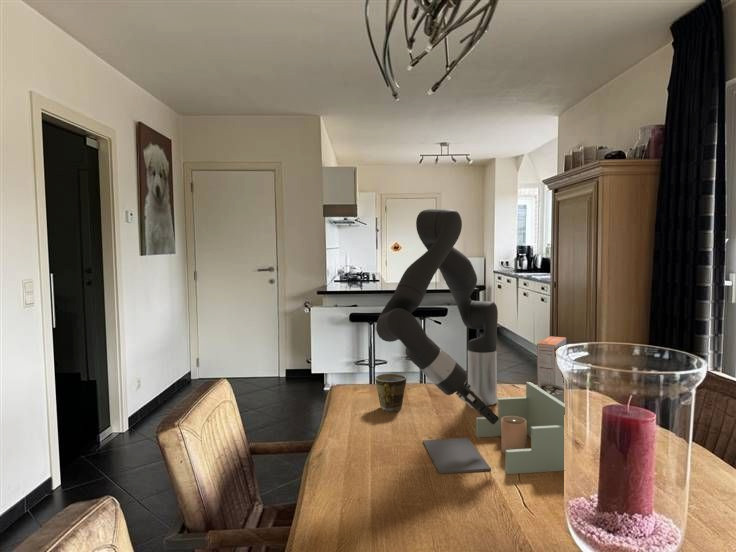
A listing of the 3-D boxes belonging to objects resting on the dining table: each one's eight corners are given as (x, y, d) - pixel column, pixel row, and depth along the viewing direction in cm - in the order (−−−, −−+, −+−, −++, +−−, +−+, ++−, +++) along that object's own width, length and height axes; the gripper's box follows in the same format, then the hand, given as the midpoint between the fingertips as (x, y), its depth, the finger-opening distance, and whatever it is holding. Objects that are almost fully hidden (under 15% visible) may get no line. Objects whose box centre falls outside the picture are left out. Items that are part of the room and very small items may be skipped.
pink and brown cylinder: (497, 447, 121) (497, 416, 121) (520, 446, 121) (520, 415, 121) (506, 457, 115) (506, 424, 115) (530, 456, 115) (530, 423, 115)
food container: (571, 432, 130) (571, 395, 130) (547, 430, 131) (547, 394, 131) (562, 416, 142) (562, 383, 142) (540, 415, 143) (540, 382, 143)
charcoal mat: (422, 442, 125) (422, 440, 125) (467, 439, 126) (467, 437, 126) (439, 473, 107) (439, 471, 107) (491, 470, 108) (491, 468, 108)
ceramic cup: (380, 402, 159) (379, 372, 159) (409, 404, 157) (409, 374, 156) (369, 415, 147) (369, 383, 146) (401, 417, 144) (401, 385, 144)
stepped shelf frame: (476, 435, 129) (475, 384, 128) (530, 432, 130) (530, 381, 129) (507, 474, 107) (507, 412, 106) (572, 469, 108) (572, 408, 107)
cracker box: (548, 397, 161) (548, 335, 160) (567, 400, 157) (567, 337, 156) (536, 408, 149) (535, 342, 148) (556, 412, 146) (556, 344, 145)
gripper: (462, 366, 109) (511, 413, 110) (446, 353, 123) (490, 395, 124) (439, 390, 109) (489, 437, 110) (426, 374, 123) (470, 416, 124)
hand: (489, 415), depth 117 cm, fingers open, 8 cm apart
